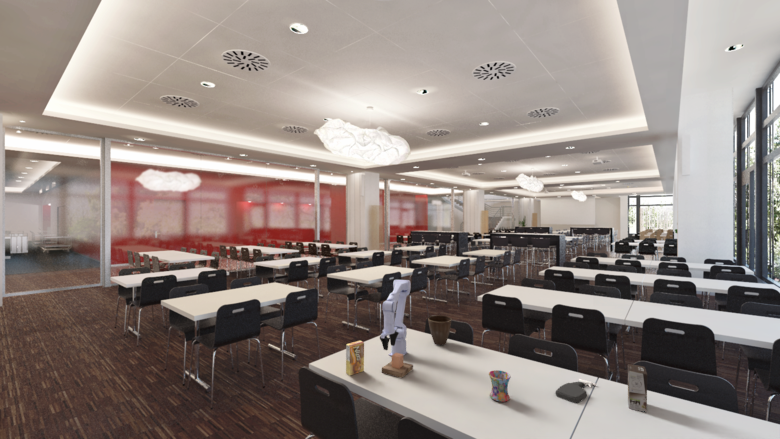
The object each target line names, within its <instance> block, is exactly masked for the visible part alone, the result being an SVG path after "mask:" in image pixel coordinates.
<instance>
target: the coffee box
mask: <svg viewBox="0 0 780 439" xmlns="http://www.w3.org/2000/svg"><path fill="white" fill-rule="evenodd" d="M627 404H628V409H630V410H633V409H634V410H633V411H638V410H639V411H638V412H641V411H645V412H646V413H648V412H647V411H648V409H647V407H648V372H647V369H646V367H645V366H642V365H638V364H630V363H627ZM645 412H644V413H645Z"/></svg>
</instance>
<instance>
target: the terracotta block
mask: <svg viewBox="0 0 780 439" xmlns="http://www.w3.org/2000/svg"><path fill="white" fill-rule="evenodd" d="M391 361H392V367H394V368H398V369H400V368H401V367H402V366H403V362H404V355H403V354H400V353H395V354H393V355H392V356H391Z"/></svg>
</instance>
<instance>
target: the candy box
mask: <svg viewBox="0 0 780 439" xmlns="http://www.w3.org/2000/svg"><path fill="white" fill-rule="evenodd" d="M345 349H346V350H345V361H346V362H345V373H346V375H348V376H353V375H356V374H358V373H362V372H364V371H365V342H364V341H362V340H357V341H353V342H350V343H346V345H345Z"/></svg>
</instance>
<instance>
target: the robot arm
mask: <svg viewBox="0 0 780 439" xmlns="http://www.w3.org/2000/svg"><path fill="white" fill-rule="evenodd" d="M392 284H393V285H392V287H393V290H392V292H390V293H389V295H388V297H387V298H386V300H385V301H382V302H383V303H382V307H381V309H382V313H383V329H382V331H381V332H382V333H381V334H380V336H379V340H380V342H381V344H382V348H383V350H384V351H388V350H389V343H390V346H391V349H390V350H391V352H390V353H388V356H390V357H392V355H393V354H395V353H400V354H403V356H405V355H407V354H408V351H407V340H406V338H407V332H408V331H407V326H406V325H405V324H404V317H405V308H406V303H407V302H406V301H407V297H408V296H409V295H410V292H411V288H412V287H411V286H412V285H411V281H410V280H409V279H397V278H396V279H394V280H393V283H392Z"/></svg>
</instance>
